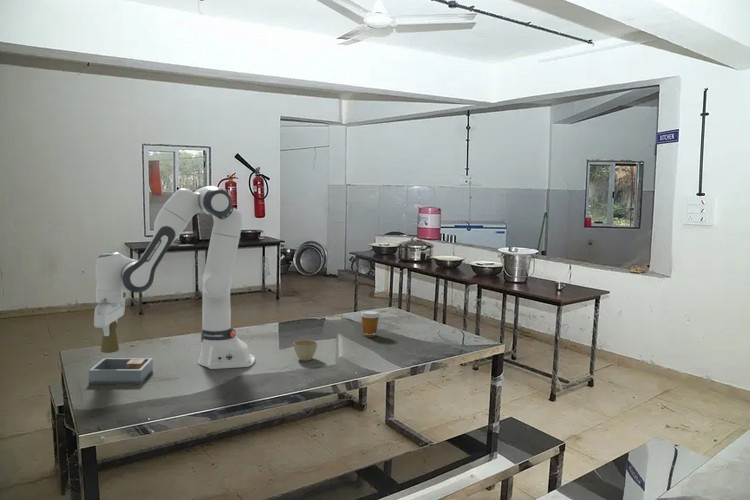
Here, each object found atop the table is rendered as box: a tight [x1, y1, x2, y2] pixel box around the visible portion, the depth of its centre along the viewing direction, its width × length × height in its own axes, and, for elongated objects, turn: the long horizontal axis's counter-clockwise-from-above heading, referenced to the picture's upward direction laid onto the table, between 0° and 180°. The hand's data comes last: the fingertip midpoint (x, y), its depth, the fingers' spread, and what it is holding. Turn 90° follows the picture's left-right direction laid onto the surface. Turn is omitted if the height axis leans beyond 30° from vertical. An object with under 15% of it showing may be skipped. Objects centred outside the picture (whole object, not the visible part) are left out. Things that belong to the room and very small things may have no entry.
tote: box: [88, 357, 154, 385], centre depth 204 cm, size 18×14×5 cm
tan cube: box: [126, 359, 145, 369], centre depth 205 cm, size 5×5×5 cm
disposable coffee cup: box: [360, 309, 381, 338], centre depth 273 cm, size 10×10×12 cm
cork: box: [100, 321, 120, 354], centre depth 202 cm, size 6×6×11 cm
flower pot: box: [293, 339, 318, 362], centre depth 233 cm, size 10×10×7 cm
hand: (110, 333), depth 202 cm, fingers closed on cork, 4 cm apart
